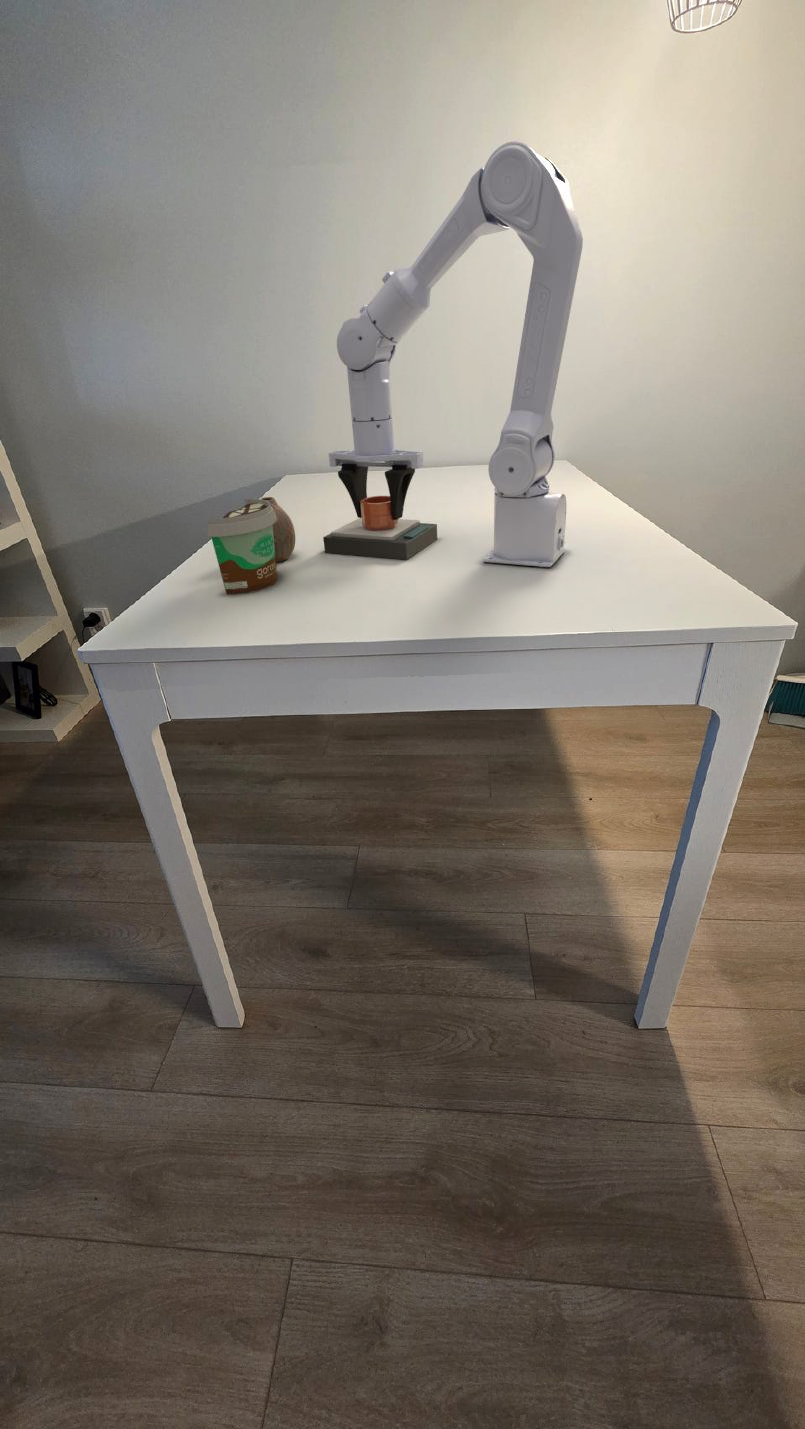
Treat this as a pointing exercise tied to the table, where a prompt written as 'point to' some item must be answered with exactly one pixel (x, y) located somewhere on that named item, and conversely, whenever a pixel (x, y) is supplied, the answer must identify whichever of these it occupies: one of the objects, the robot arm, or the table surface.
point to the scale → (381, 539)
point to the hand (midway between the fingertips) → (379, 517)
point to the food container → (245, 547)
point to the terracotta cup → (377, 513)
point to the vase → (282, 532)
